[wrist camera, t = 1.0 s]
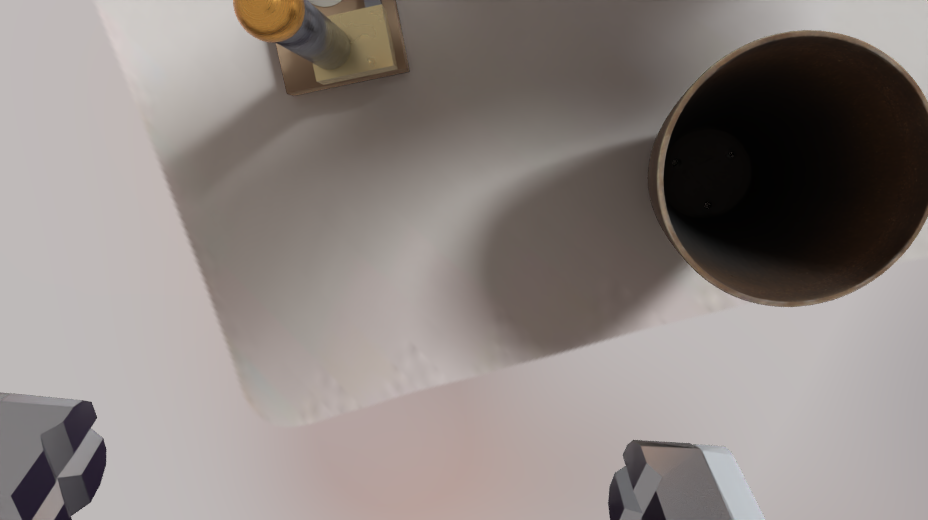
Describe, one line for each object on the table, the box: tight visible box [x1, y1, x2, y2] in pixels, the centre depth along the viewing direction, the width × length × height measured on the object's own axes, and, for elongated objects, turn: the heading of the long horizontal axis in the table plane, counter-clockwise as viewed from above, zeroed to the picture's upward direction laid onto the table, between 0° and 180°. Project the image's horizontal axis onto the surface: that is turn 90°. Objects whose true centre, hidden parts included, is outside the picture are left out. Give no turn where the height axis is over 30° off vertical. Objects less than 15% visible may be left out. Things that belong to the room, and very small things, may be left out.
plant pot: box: [648, 30, 928, 307], centre depth 40 cm, size 15×15×16 cm
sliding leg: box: [233, 0, 398, 85], centre depth 39 cm, size 4×6×16 cm
